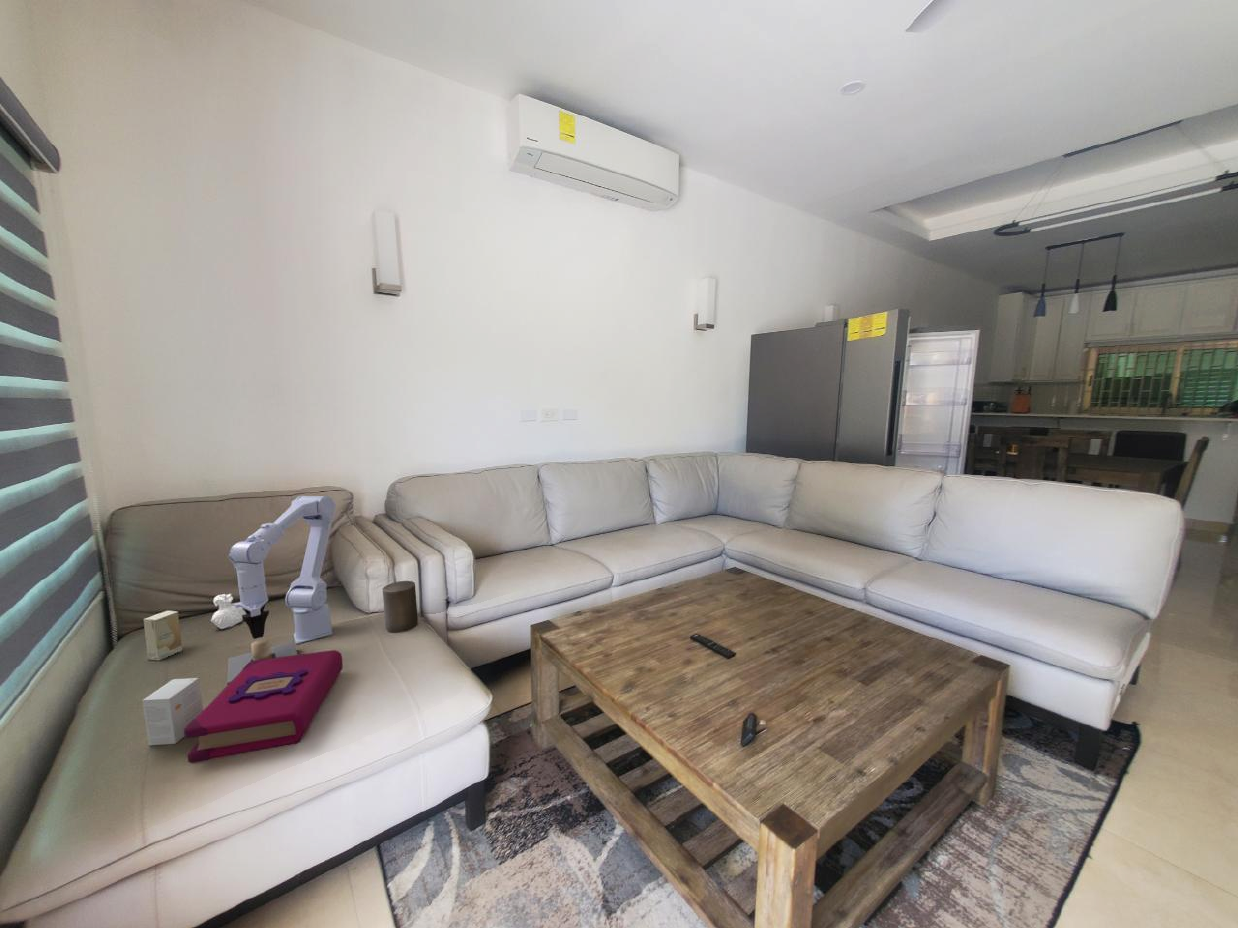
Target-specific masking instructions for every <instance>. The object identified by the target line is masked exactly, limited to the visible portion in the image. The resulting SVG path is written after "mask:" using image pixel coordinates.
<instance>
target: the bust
mask: <svg viewBox="0 0 1238 928" xmlns="http://www.w3.org/2000/svg"><path fill="white" fill-rule="evenodd" d="M233 600H234V597H233V595H232V593H229V594H225V593H223V594H218V595H216V596H215V597H214V598H213V604H214V606H215V607H218V609H217V611H215V612H214V613H213V614H212V617H211V619H210V622H212V624H214V625H215V626H216V627H218V628H219V630H223V629H227V628H231V627H232V628H233V626H235V625H237V624H239V623H241V622H243V621H244V620H243V619H242V615H245V614H246V612H245V611H244V610H243V608H242V607H238V608H236V607H235V604H236V603H237V602H235V603H234V602H233ZM232 602H233V603H232Z"/></svg>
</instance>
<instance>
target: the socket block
mask: <svg viewBox="0 0 1238 928" xmlns="http://www.w3.org/2000/svg"><path fill="white" fill-rule="evenodd" d="M270 649H271V657H272V658H279V657H286V656H294V655H298V651H297V647H296V642H295V640H293V641H288V642H286V643H282V644H278V645H274V646H270ZM251 661H253V657H252V651H250V652H248V653H243V654H240V655H236V656H232V657H229V658H227V674H226V675H227V677H226V679H227V680H226V684H227V685H228V684H229V683H230V682H231V681H232V680H233V679H234V678H235V677H236V676H237V675H238V674H239V673H240V672H241V671H242V669H243V668H244V667H245V666H246V665H247V664H248V663H249V662H251ZM227 685H226V686H227Z"/></svg>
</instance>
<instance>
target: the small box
mask: <svg viewBox="0 0 1238 928" xmlns="http://www.w3.org/2000/svg"><path fill="white" fill-rule="evenodd" d="M141 704H142V710H143V717H144V722H145V730H146V736H147V743H148V746H162V745H163V746H164V745H175V744H177V743H178V742H179V741H181V740H182V739H183V738H185V735H184V729H185V728H186V727H187V725H188V724H189V723H190V722H191V721H192V720H193V719H196V718H197V716H198V715H199V714H200V713H201V712H202V711H203V710H204V705H203V700H202V691H201V685H200V677H192V678H188V677H187V678H173V679H172V680H171V679H170V680H169V681H168V682H166V684H164V685H163V686H161V687H160V688H158V689H157V690H155V691H154V692H153V693H150V694H149V695H148V696H146V697H145V698H143V699H142V700H141Z"/></svg>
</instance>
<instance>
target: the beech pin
mask: <svg viewBox="0 0 1238 928" xmlns="http://www.w3.org/2000/svg"><path fill="white" fill-rule="evenodd" d="M270 642H271V640H270V639H269V638H263V639H262V638H261V639H258V640H256V641H253V642H251V644H250V647H251V652H252V657H253V661H254V660H259V659H271V658H272V657H271V649H270V647H271V643H270Z"/></svg>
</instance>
